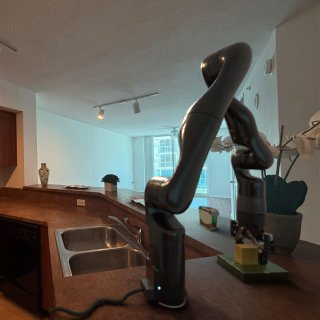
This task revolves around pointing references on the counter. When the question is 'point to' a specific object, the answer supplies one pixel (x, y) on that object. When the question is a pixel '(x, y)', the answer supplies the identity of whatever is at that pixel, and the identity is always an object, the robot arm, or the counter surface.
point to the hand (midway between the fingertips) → (250, 257)
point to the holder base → (253, 270)
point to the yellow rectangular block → (246, 254)
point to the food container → (208, 217)
